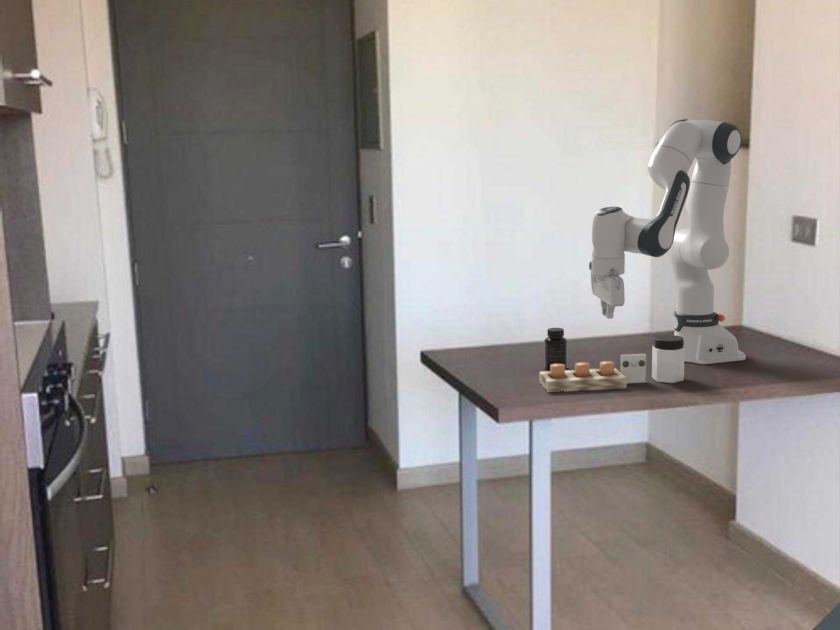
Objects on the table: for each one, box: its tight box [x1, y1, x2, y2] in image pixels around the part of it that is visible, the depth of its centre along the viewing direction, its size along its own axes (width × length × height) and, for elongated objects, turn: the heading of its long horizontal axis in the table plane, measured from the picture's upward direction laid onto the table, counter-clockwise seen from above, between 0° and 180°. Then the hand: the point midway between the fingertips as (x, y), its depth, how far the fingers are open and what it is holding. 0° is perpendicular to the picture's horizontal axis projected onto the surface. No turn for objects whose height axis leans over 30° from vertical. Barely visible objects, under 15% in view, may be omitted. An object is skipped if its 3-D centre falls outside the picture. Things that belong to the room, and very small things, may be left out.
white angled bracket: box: [620, 353, 647, 384], centre depth 277 cm, size 7×3×8 cm, turn 95°
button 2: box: [599, 360, 615, 375], centre depth 276 cm, size 4×4×3 cm
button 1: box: [549, 364, 566, 378], centre depth 274 cm, size 4×4×3 cm
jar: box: [651, 334, 685, 384], centre depth 278 cm, size 9×8×12 cm
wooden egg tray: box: [538, 367, 628, 393], centre depth 276 cm, size 22×11×3 cm, turn 95°
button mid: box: [574, 361, 591, 376], centre depth 275 cm, size 4×4×3 cm
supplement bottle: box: [543, 327, 568, 371], centre depth 293 cm, size 7×7×12 cm
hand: (607, 316), depth 273 cm, fingers open, 2 cm apart
